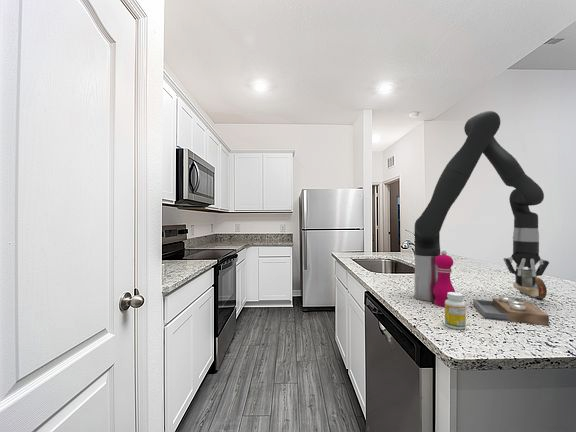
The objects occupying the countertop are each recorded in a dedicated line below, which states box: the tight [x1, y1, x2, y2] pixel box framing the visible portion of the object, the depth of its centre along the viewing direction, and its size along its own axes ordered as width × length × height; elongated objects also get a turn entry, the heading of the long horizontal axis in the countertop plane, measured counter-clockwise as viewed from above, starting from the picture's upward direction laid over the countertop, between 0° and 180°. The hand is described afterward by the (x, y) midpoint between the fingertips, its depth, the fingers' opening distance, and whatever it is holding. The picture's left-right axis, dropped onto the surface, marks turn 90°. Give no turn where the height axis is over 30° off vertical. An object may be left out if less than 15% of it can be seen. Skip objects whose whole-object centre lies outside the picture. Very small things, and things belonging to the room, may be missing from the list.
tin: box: [521, 276, 548, 300], centre depth 118 cm, size 15×3×8 cm, turn 168°
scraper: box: [512, 268, 539, 296], centre depth 108 cm, size 3×14×8 cm, turn 159°
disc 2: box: [508, 299, 524, 305], centre depth 94 cm, size 4×4×2 cm
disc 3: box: [509, 303, 526, 311], centre depth 90 cm, size 4×4×2 cm
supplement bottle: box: [444, 291, 467, 330], centre depth 84 cm, size 5×5×10 cm
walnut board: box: [491, 297, 550, 327], centre depth 94 cm, size 10×16×3 cm, turn 158°
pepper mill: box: [433, 250, 456, 308], centre depth 106 cm, size 7×7×20 cm
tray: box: [472, 298, 509, 322], centre depth 97 cm, size 6×16×2 cm, turn 158°
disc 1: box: [498, 295, 514, 303], centre depth 99 cm, size 4×4×2 cm
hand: (525, 285), depth 107 cm, fingers closed on scraper, 3 cm apart
